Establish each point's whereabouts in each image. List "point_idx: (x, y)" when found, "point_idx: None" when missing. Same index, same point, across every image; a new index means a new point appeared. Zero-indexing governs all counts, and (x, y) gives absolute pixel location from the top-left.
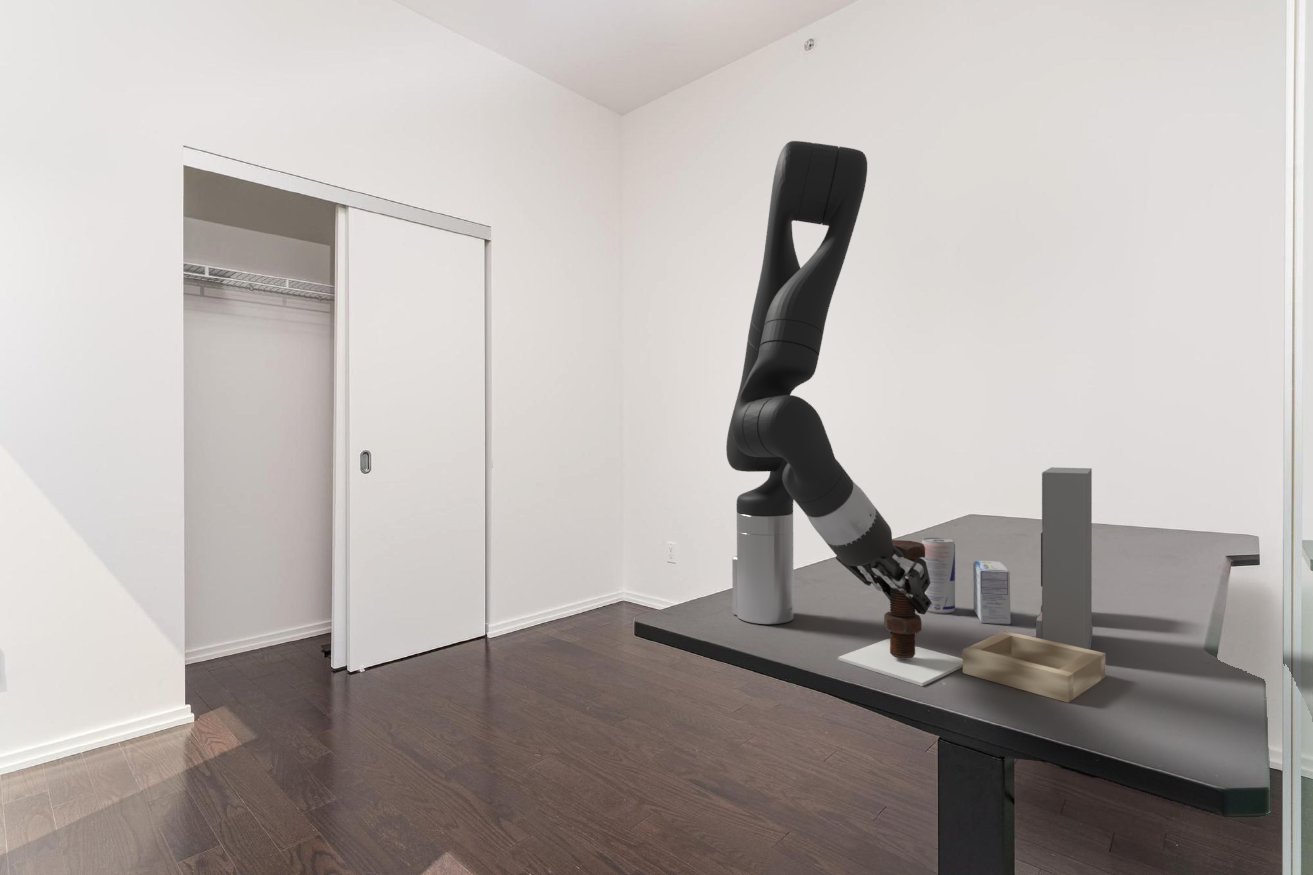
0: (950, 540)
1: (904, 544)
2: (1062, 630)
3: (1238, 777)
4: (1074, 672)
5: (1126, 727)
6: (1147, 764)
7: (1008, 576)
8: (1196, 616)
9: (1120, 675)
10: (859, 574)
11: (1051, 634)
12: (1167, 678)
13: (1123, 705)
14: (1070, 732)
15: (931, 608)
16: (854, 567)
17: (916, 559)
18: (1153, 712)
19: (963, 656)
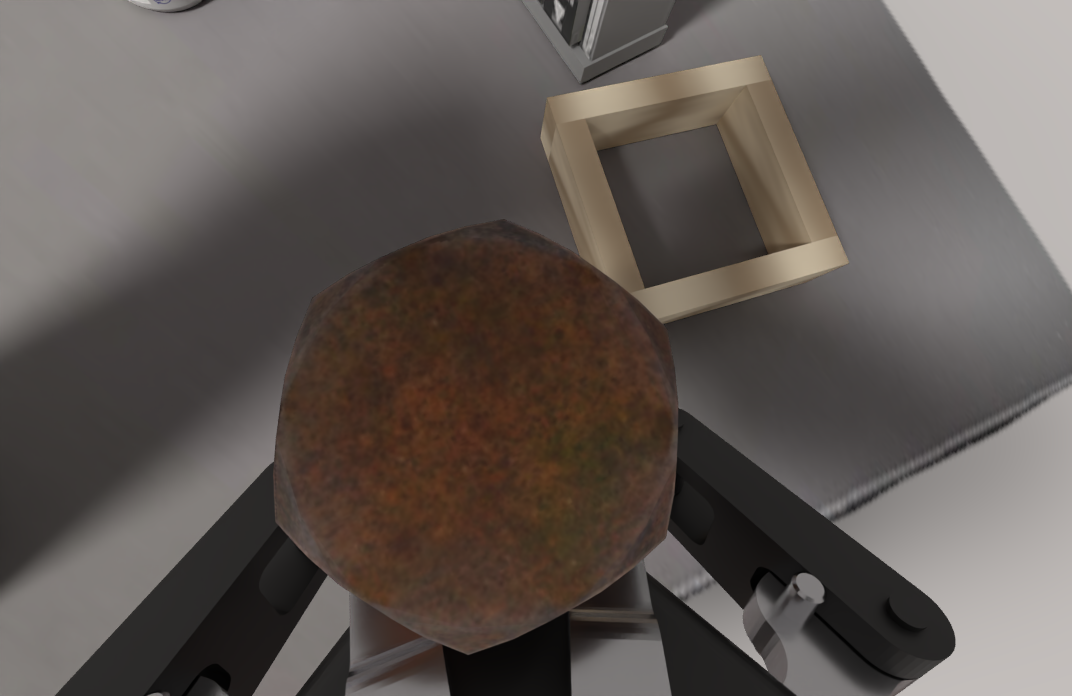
0: None
1: (555, 458)
2: (639, 3)
3: (1068, 313)
4: (833, 228)
5: (910, 291)
6: (1017, 396)
7: None
8: None
9: None
10: (300, 613)
11: (615, 27)
12: (768, 8)
13: (839, 202)
14: (904, 402)
15: (173, 2)
16: (254, 670)
17: (914, 667)
18: (875, 187)
19: None
